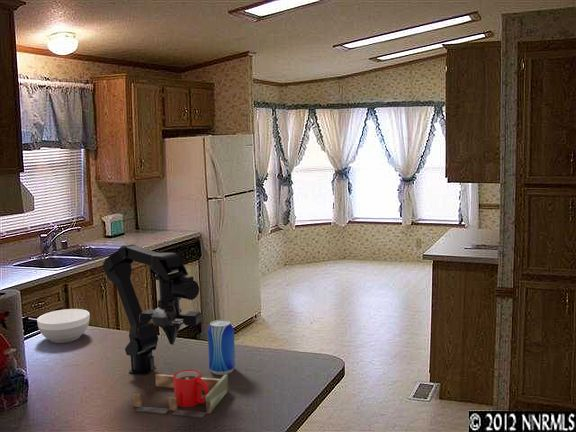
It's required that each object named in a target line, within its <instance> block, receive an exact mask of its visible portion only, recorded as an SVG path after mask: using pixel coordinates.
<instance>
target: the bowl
mask: <svg viewBox="0 0 576 432" xmlns="http://www.w3.org/2000/svg"><path fill="white" fill-rule="evenodd" d="M36 322H37V323H36V324H37V327H38V330H39V333H40V334H41V335H42V336H43V337H44V338H45V339H48V340H49V341H50V342H51V343H54V344H55V343H56V344H60V343H61V344H64V343H70V342H74V341H77V340H79V339H80V338H81V336H82V335H83V334H84V333H86V330H87V329H88V328H89V324H90V312H89V311H88V310H86V309H81V308H67V309H59V310H57V309H56V310H53V311H49V312H46V313H44V314H42V315H39V317H38V316H37V318H36Z"/></svg>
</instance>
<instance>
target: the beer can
mask: <svg viewBox="0 0 576 432" xmlns="http://www.w3.org/2000/svg"><path fill="white" fill-rule="evenodd" d="M207 347H208V348H207V349H208V365H209V367H208V368H209V370H210V371H211V373H212V374H214V375H219V376H223V375H229V374H231V373H232V372H233V371H234V370H235V368H236V350H235V347H236V346H235V330H234V327H233V325H232V322H231V320H227V319H217V320H213V321H211V322H210V323H209V327H208V328H207Z"/></svg>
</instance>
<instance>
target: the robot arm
mask: <svg viewBox="0 0 576 432" xmlns="http://www.w3.org/2000/svg"><path fill="white" fill-rule="evenodd" d="M179 256H180V255H178V254H177V253H176V252H158V251H154V250H151V249H148V248H145V247H141V246H138V245H136V244H134V243H130V244H125V245H122V246H120V247H119V248H118V249H117V251H115V252H114V253H112V254H110V255H109V256H108V257H106V258H105V259H104V261H103V263H102V269H103V272H104V273H105V275H106V277H107V279H108V280H109V281H111V282H112V283H113V284H115V287H116V289H117V292H118V295H119V298H120V301H121V303H122V306H123V309H124V311H125V314H126V317H127V320H128V323H129V325H130V328H129V333H128V339H129V342H128V343H127V345H126V347H125V348H124V350H125V354H126V356H129V357H130V366H131V370H129V371H128V373H129V374H134V375H137V374H138V375H148V374H149V373H151V372H152V371H153V370H154V369H155V368H156V365H155V356H154V355H153V352H154V351H155V350H157V346H158V342H159V333H158V331H157V329H156V326H157V327H160V328H161V329H162V331H163V332H164V334H165V336H166V337H167V341H168V342H169V344H170V345H174V344H175V342H176V340H177V337H178V334H179V330H180V328H181V326H182V325H183V324H184V326H189V327H193V326H195V327H196V326H197V325H199V324H200V323H201V322H202V321H203V314H202V313H201V311H196V310H195V311H194V310H193V311H188V312H187V313H186V314H182V308H181V305H180V300H182V299H184V300H189V301H193V300H195V299H196V298H197V297H198V295H199V294H200V293H199V292H200V285H199V284H198V281H196V280H194V276H192V275H189V272H188V271H187V268H186V267H185V266H184V263H183V262H182V260H181V258H180V257H179ZM134 262H137V263H140V264H143V265H146V266H149V267H150V268H151V270H152V271H153V272H155V273H156V275H155V276H154V278H153V279H154V280H156V281H158V285H159V286H158V287H159V288H158V289H159V299H158V300H157V308H155V309H150V308H148V309H145V310H144V311H143V310H142V307H141V304H140V302H139V299H138V296H137V294H136V291H135V288H134V285H133V282H132V279H131V278H132V274H133V273H132V272H133V268H132V265H133V264H134ZM151 321H152V322H151Z"/></svg>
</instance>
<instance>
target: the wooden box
mask: <svg viewBox="0 0 576 432" xmlns="http://www.w3.org/2000/svg"><path fill="white" fill-rule="evenodd" d="M228 375H229V374H225V375H222V377H221V378H215V377H214V378H212V377H202V376H201V380H203V381H204V382H205V383H206V384H207V386H208V388H209V391H210V392H209V393H208V394H207V395H206V396H205V398H206V402H205V412H204V411H194V410H183V409H178V406H177V397H174V396H169V397H168V408H165V407H164V408H162V407H153V406H152V407H151V406H142V405H143V404H142V394H141V393H133V394H132V402H133V403H132V404H133V408H136V409H135V412H140V413H151V414H160V415H166V414H167V413H168V412H169V411H173V412H172V413H171V415H172V416H179V417H180V416H181V417H190V418H205V416H206V415H207V414H211V413H212V412H213V410H214V409H215V408H216V407H217V406H218V404H219V403H220V402H221V401H222V399H223V398H224V396H225V395H226V394H227V393H228V392H229V383H228V382H229V381H228V380H229V378H228ZM173 376H174V374H164V373H162V374H161V373H160V374H159V373H156V374H155V386H156V387H160V388H161V387H162V388H163V387H164V388H173V389H174V381H173ZM202 391H204V389H203V387H202Z"/></svg>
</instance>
